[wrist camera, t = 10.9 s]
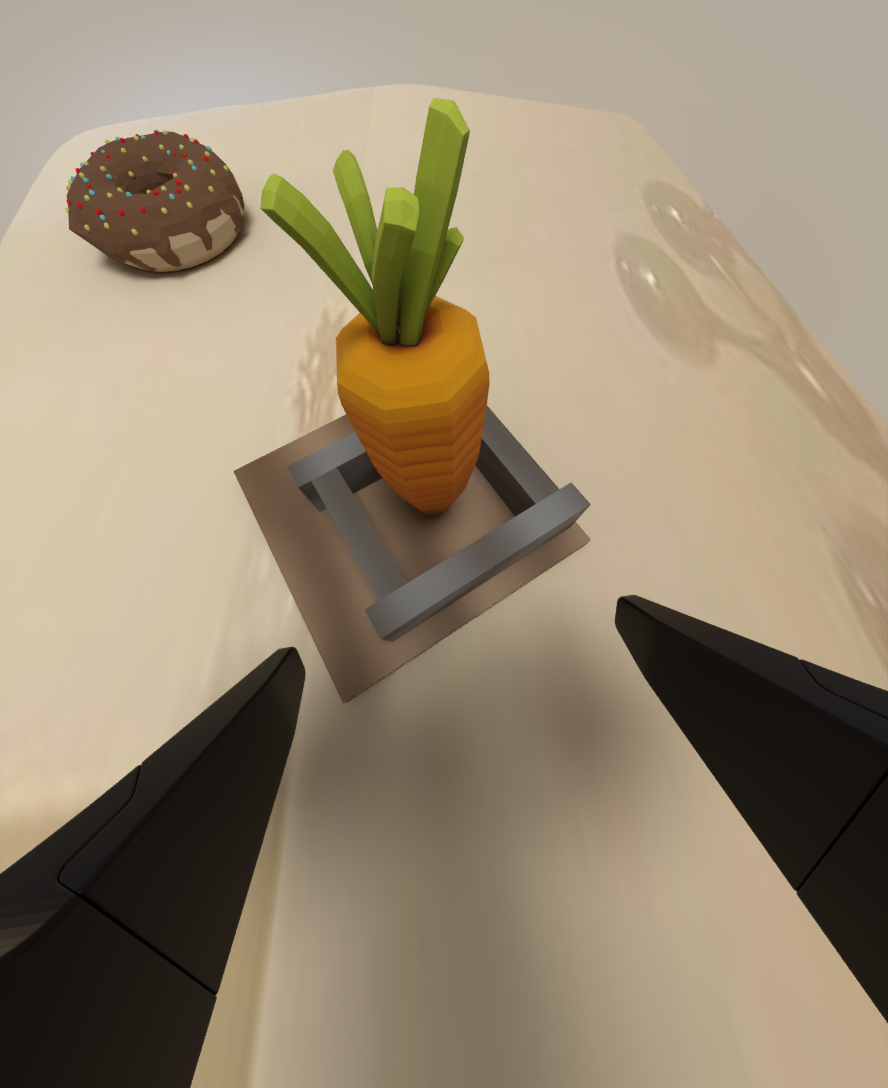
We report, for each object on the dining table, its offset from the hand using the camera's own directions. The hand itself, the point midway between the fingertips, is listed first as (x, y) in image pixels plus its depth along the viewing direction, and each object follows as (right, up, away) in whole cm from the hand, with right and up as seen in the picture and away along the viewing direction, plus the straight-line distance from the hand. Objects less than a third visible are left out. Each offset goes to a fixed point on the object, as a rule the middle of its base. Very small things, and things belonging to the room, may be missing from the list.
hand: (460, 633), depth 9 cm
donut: (-26, +32, +22) cm, 47 cm away
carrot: (-1, +5, +11) cm, 12 cm away
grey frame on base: (-3, +5, +12) cm, 13 cm away
